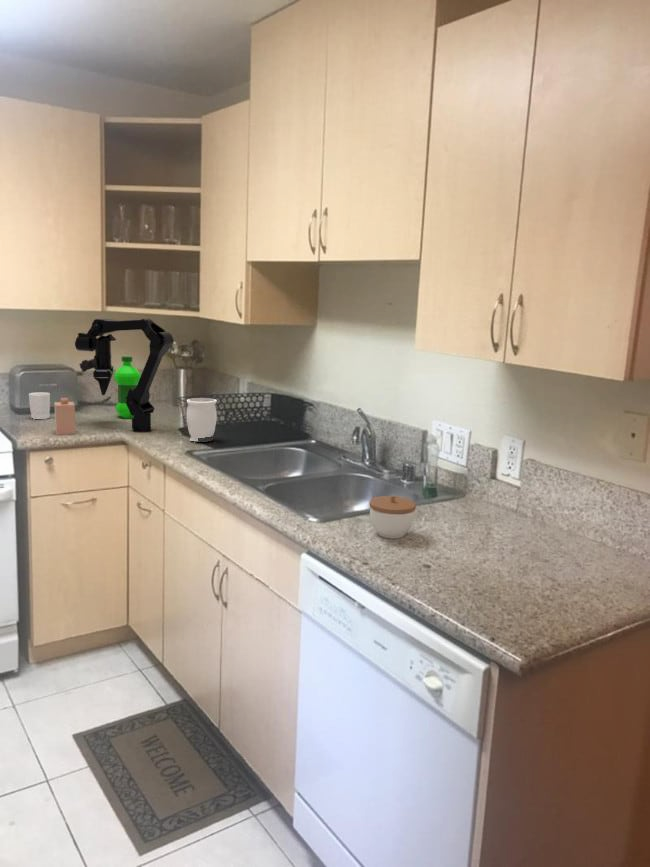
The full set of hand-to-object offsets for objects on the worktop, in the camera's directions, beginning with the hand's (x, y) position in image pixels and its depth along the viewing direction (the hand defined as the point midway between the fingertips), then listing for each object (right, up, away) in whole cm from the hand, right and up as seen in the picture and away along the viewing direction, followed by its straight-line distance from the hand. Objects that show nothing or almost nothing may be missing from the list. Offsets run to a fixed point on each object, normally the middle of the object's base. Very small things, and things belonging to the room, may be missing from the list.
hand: (104, 393), depth 268 cm
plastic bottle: (+3, -9, +23) cm, 24 cm away
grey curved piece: (-10, -16, -13) cm, 23 cm away
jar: (+40, -18, -16) cm, 47 cm away
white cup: (-30, -10, +14) cm, 34 cm away
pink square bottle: (-10, -15, -13) cm, 22 cm away
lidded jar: (+100, -39, -104) cm, 149 cm away
